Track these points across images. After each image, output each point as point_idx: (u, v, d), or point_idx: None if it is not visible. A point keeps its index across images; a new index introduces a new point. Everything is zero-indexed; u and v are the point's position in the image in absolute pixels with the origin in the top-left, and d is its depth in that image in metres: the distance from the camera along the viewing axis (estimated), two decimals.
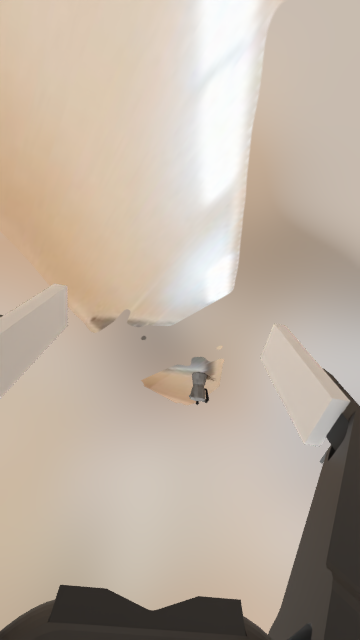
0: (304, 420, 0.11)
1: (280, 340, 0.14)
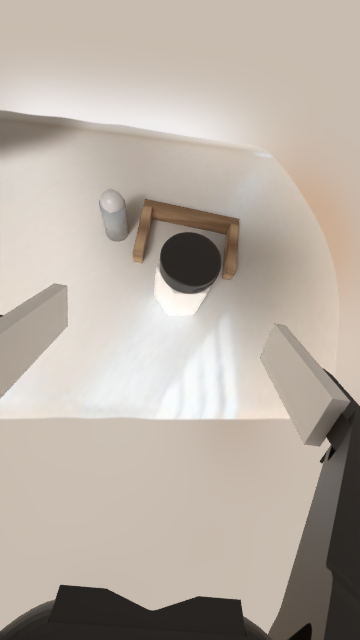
0: (304, 420, 0.11)
1: (280, 340, 0.14)
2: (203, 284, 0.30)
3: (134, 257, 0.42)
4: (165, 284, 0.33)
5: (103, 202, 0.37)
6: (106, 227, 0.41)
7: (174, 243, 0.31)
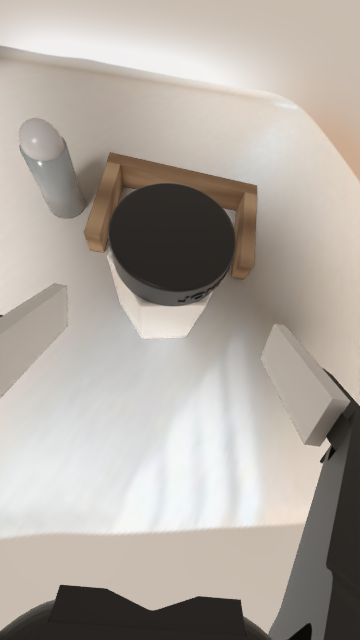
0: (304, 420, 0.11)
1: (280, 340, 0.14)
2: (198, 287, 0.14)
3: (89, 242, 0.26)
4: (125, 287, 0.17)
5: (21, 141, 0.20)
6: (42, 193, 0.25)
7: (139, 203, 0.15)
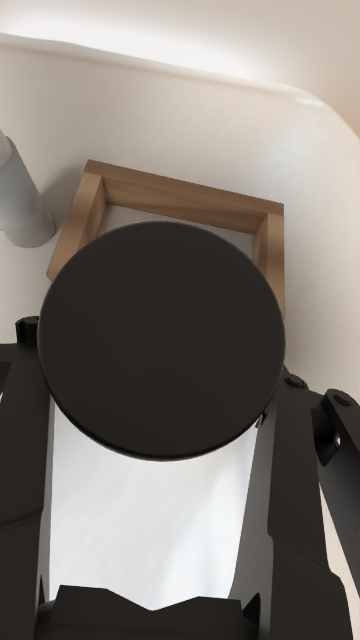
0: None
1: None
2: (220, 446, 0.07)
3: None
4: None
5: None
6: None
7: (104, 263, 0.08)
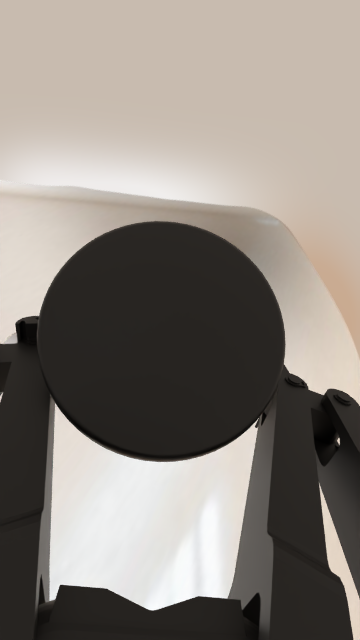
0: None
1: None
2: (220, 446, 0.07)
3: None
4: None
5: None
6: None
7: (104, 263, 0.08)
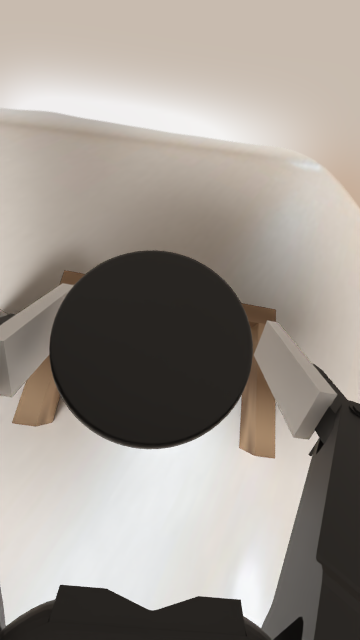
0: (294, 414, 0.11)
1: (273, 337, 0.14)
2: (196, 436, 0.09)
3: None
4: None
5: None
6: None
7: (102, 288, 0.10)
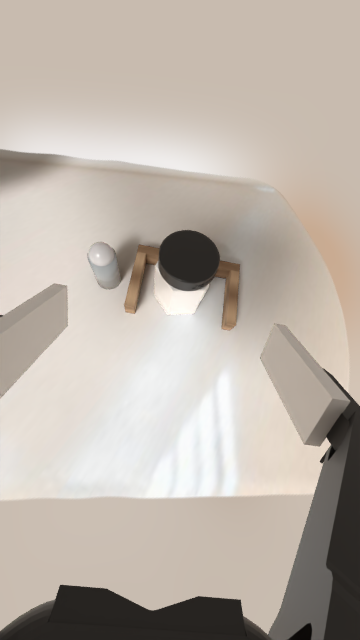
0: (304, 420, 0.11)
1: (280, 340, 0.14)
2: (202, 281, 0.30)
3: (126, 309, 0.39)
4: (164, 282, 0.33)
5: (91, 257, 0.34)
6: (96, 277, 0.39)
7: (172, 241, 0.32)
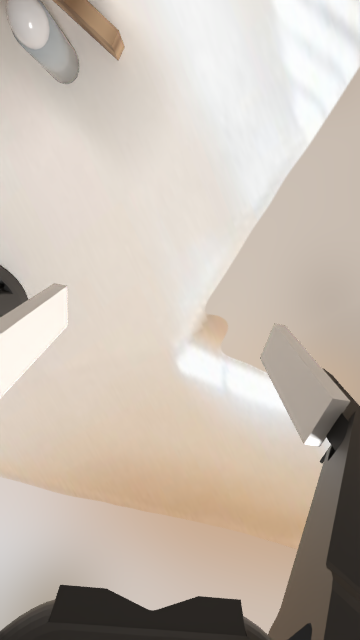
0: (304, 420, 0.11)
1: (280, 340, 0.14)
2: None
3: (116, 52, 0.28)
4: None
5: (32, 39, 0.23)
6: (60, 71, 0.28)
7: None
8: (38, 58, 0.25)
